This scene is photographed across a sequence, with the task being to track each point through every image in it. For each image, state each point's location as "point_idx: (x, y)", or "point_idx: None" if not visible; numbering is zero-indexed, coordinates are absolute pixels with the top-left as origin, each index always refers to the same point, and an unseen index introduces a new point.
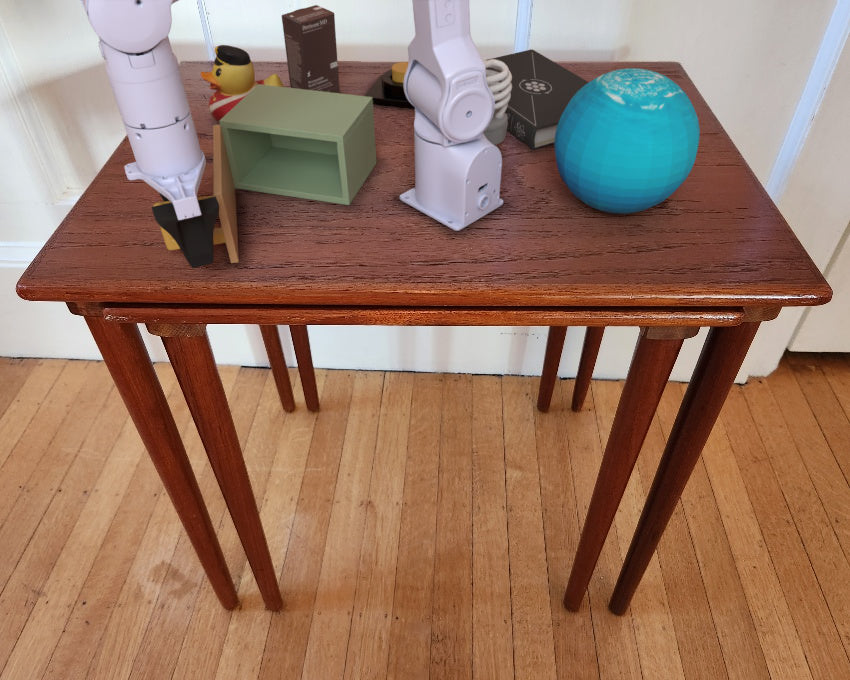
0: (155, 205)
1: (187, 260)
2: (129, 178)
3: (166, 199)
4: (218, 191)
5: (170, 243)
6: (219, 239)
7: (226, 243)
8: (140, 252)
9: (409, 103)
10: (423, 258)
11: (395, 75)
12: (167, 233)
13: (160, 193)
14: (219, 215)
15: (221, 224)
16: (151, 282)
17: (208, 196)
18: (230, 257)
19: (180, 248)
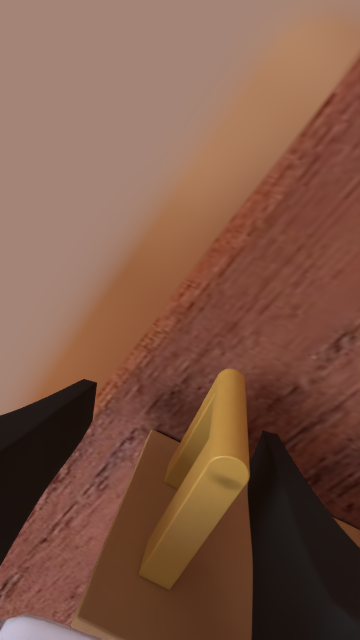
0: (232, 466)
1: (69, 386)
2: (6, 634)
3: (280, 497)
4: (81, 630)
5: (215, 385)
6: (172, 461)
7: (137, 464)
8: (325, 314)
9: None
10: (21, 586)
11: None
12: (214, 403)
13: (291, 512)
14: (109, 535)
15: (119, 509)
16: (195, 289)
17: (174, 577)
18: (147, 439)
19: (33, 403)
